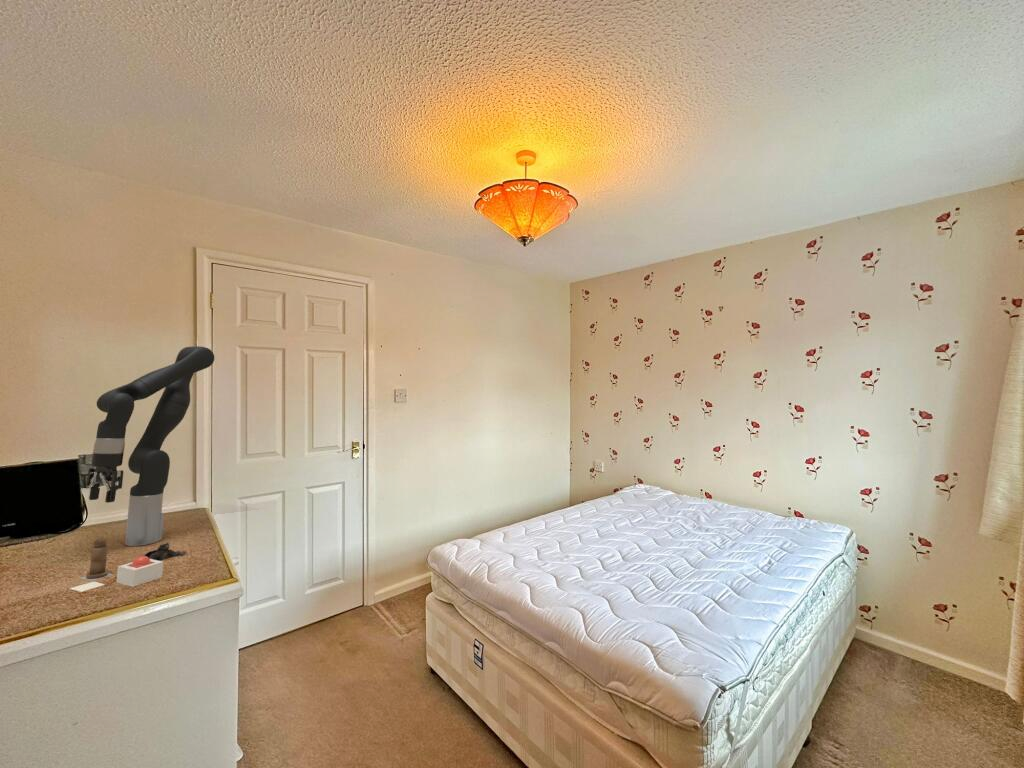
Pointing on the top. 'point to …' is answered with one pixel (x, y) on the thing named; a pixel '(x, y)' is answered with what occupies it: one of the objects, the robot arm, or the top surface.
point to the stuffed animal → (164, 553)
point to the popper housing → (139, 573)
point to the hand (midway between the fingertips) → (101, 500)
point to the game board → (88, 584)
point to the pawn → (98, 559)
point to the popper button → (141, 561)
